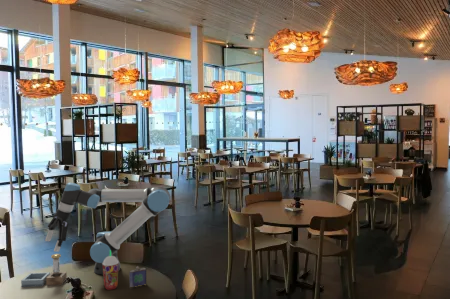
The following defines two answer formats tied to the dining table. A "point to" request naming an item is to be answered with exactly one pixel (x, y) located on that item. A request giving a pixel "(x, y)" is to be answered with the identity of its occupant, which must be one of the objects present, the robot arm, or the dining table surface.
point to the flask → (137, 277)
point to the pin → (56, 264)
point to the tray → (34, 279)
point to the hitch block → (56, 279)
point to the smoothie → (110, 272)
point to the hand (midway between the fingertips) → (51, 246)
